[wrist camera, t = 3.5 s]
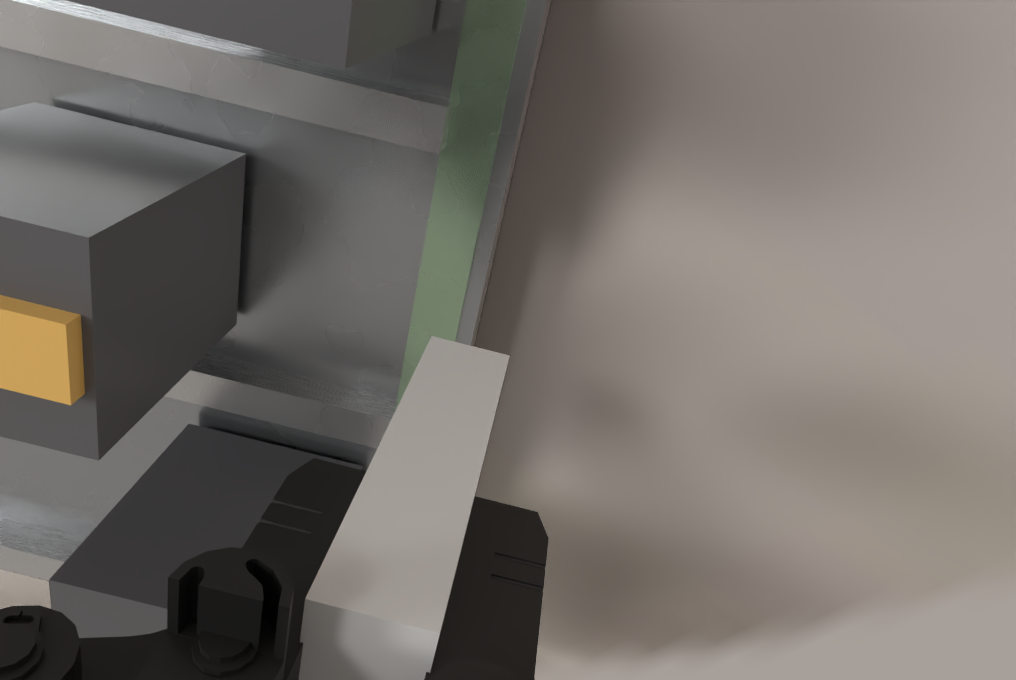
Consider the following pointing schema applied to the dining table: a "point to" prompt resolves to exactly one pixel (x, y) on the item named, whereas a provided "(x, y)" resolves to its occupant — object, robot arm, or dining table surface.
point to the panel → (290, 227)
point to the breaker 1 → (293, 24)
